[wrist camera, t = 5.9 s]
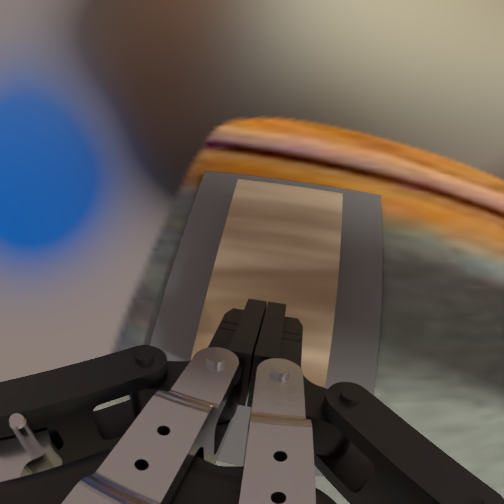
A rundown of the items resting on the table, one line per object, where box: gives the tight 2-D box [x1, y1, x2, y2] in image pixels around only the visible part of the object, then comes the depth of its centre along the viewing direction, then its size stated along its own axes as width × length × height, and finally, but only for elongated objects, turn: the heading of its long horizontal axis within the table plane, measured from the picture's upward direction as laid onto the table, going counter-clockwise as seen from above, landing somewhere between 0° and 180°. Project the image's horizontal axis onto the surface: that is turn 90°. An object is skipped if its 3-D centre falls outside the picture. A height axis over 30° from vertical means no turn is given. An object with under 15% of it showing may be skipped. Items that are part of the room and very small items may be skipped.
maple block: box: [191, 179, 343, 387], centre depth 18 cm, size 2×7×12 cm
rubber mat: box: [150, 171, 383, 476], centre depth 19 cm, size 20×14×1 cm
